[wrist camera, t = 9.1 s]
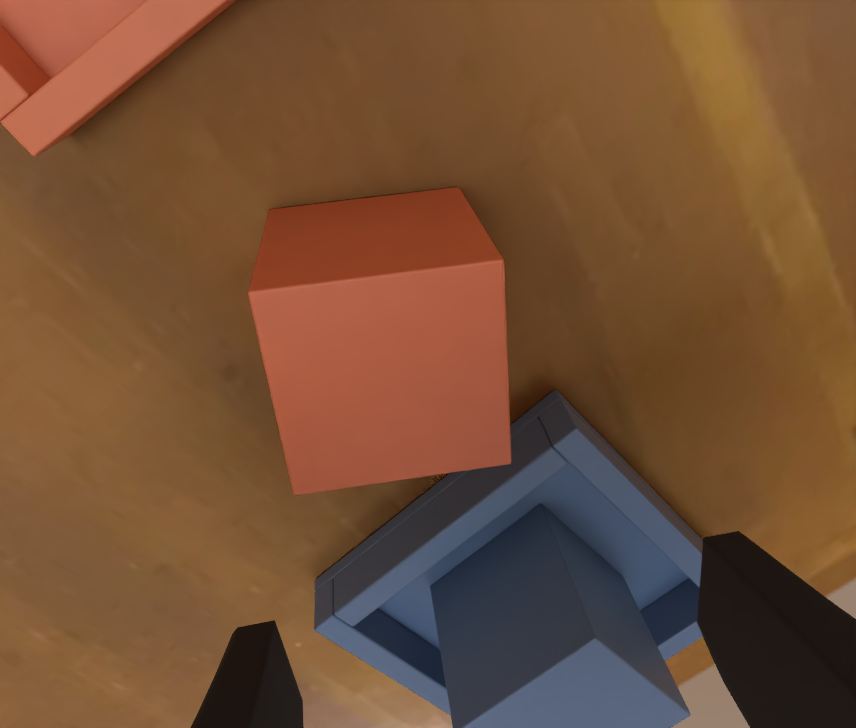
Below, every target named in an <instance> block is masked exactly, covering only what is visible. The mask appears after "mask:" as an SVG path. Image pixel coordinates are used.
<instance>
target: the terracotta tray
mask: <svg viewBox="0 0 856 728" xmlns="http://www.w3.org/2000/svg"><path fill="white" fill-rule="evenodd" d="M235 1H236V0H0V120H1V124H2V125H3V126H4V127H5V128H6V129H7V130H8V131H9V132H10V133H11V134H12V135H13V136H14V137H15V138H16V139H17V140H18V141H19V142H20V143H21V144H22V146H23V147H24V148H25V149H26V150H27V151H28V152H29V153H30V154H31V155H32V156H37V155H38V154H40V153H42V152H43V151H45V150H46V149H48V148H50V147H51V146H53V145H55V144H56V143H58V142H60V141H61V140H63V139H64V138H66V137H68V136H69V135H70V134H71V133H73V132H74V131H75V130H76V129H78V128H79V127H80V126H81V125H83V124H84V123H85V122H86V121H87V120H89V119H90V118H91V117H92V116H94V115H95V114H96V113H97V112H99V111H100V110H101V109H102V108H104V107H105V106H106V105H107V104H108V103H110V102H111V101H112V100H113V99H115V98H116V97H117V96H118V95H120V94H121V93H122V92H123V91H125V90H126V89H127V88H128V87H129V86H131V85H132V84H133V83H134V82H136V81H137V80H138V79H139V78H141V77H142V76H143V75H144V74H146V73H147V72H148V71H149V70H151V69H152V68H153V67H154V66H155V65H157V64H158V63H159V62H160V61H162V60H163V59H164V58H165V57H167V56H168V55H169V54H170V53H172V52H173V51H174V50H175V49H176V48H178V47H179V46H180V45H181V44H183V43H184V42H185V41H186V40H188V39H189V38H190V37H191V36H193V35H194V34H195V33H196V32H197V31H199V30H200V29H201V28H202V27H204V26H205V25H206V24H207V23H209V22H210V21H211V20H212V19H214V18H215V17H216V16H217V15H218V14H220V13H221V12H222V11H223V10H225V9H226V8H227V7H228V6H230V5H231V4H232V3H233V2H235Z"/></svg>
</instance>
